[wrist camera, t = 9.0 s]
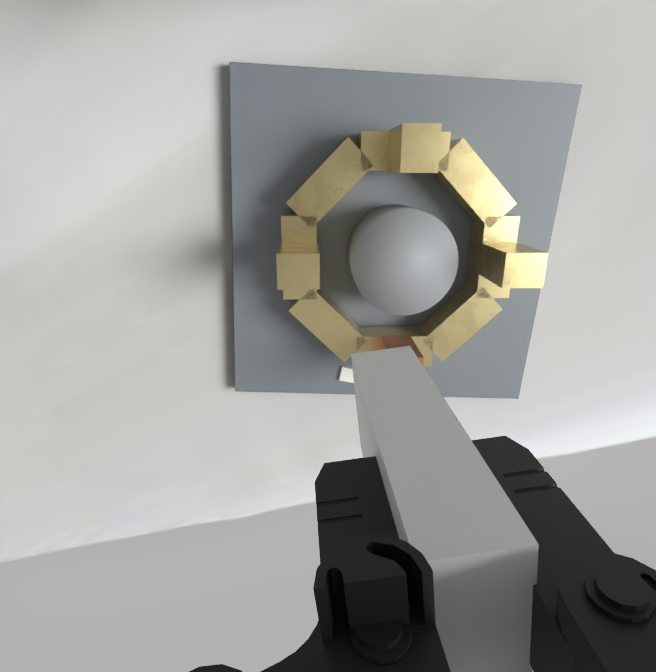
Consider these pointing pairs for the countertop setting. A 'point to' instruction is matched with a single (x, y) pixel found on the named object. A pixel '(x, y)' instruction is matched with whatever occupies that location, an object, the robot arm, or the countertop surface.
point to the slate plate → (310, 136)
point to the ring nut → (484, 257)
